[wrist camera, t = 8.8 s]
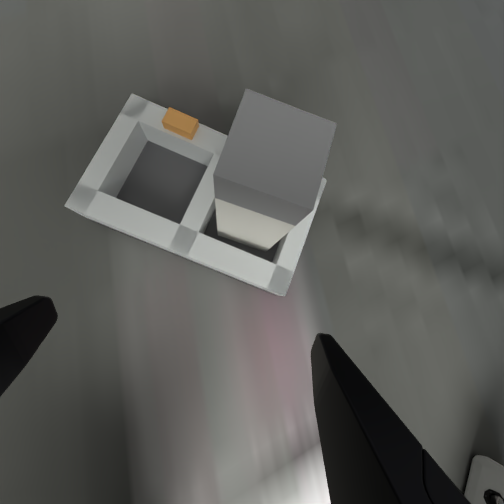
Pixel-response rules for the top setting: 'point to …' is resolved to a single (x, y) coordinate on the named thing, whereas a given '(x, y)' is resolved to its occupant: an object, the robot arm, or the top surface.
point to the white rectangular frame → (176, 195)
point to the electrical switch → (485, 481)
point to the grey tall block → (269, 170)
